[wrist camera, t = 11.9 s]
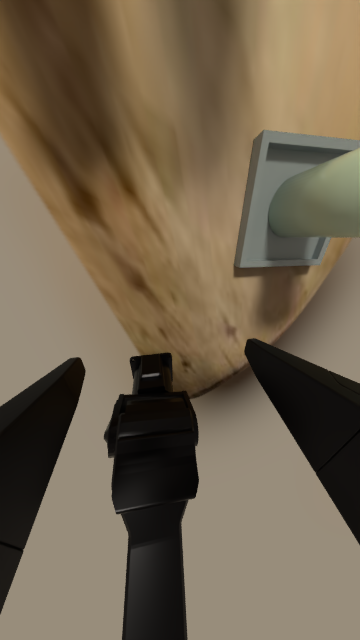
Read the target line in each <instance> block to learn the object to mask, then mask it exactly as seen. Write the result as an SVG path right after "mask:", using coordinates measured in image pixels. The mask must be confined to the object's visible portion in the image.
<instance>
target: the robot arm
mask: <svg viewBox="0 0 360 640" xmlns="http://www.w3.org/2000/svg"><path fill="white" fill-rule="evenodd" d="M244 352H245V355H246V357H247V359H248V361H249V363H250V365H251V367H252V370H253V372H254V374H255V376H256V377H257V379H258V381H259V382H260V384H261V386H262V387H263V389H264V391H265V392H266V394H267V395H268V397H269V399H270V400H271V402H272V403H273V405H274V407H275V408H276V410H277V411H278V413H279V415H280V416H281V418H282V420H283V421H284V423H285V424H286V426H287V428H288V429H289V431H290V433H291V434H292V436H293V437H294V439H295V440H296V442H297V444H298V446H299V447H300V449H301V450H302V452H303V454H304V455H305V457H306V458H307V460H308V462H309V463H310V465H311V467H312V468H313V470H314V471H315V472H316V475H317V476H318V478H319V480H320V481H321V483H322V485H323V486H324V488H325V489H326V491H327V493H328V494H329V496H330V498H331V499H332V501H333V502H334V504H335V505H336V507H337V509H338V510H339V512H340V514H341V515H342V517H343V519H344V520H345V522H346V523H347V525H348V527H349V528H350V530H351V531H352V533H353V535H354V536H355V538H356V540H357V541H358V543H359V544H360V383H357V382H355V381H352V380H350V379H348V378H345V377H343V376H340V375H338V374H336V373H334V372H331V371H328V370H327V369H324V368H322V367H320V366H317V365H315V364H313V363H310V362H308V361H306V360H304V359H301V358H299V357H297V356H294V355H292V354H290V353H287V352H285V351H283V350H280V349H278V348H276V347H273V346H271V345H269V344H267V343H264V342H262V341H260V340H258V339H255V338H253V339H248V340H247V342H246V346H245V350H244ZM130 365H131V370H132V375H133V379H134V382H133V391H132V395H124V394H120V395H119V399H118V400H117V401H116V404H115V405H114V410H113V414H112V418H111V420H110V422H109V425H108V426H107V429H106V431H105V434H104V440H105V441H106V442H107V447H108V457H109V458H112V457H114V465H113V475H112V501H113V505H114V508H115V512H116V514H121V515H122V518H123V521H124V524H125V526H126V529H127V531H128V535H129V538H128V554H127V570H126V586H125V601H124V618H123V634H122V640H187V623H186V605H185V586H184V568H183V549H182V529H181V522H182V518H183V515H184V512H185V509H186V506H187V503H188V500H189V499H194V498H195V497H196V493H197V488H198V483H199V477H198V470H197V463H196V454H195V446H197V444H198V423H197V418H196V414H195V411H194V409H193V406H192V404H191V402H190V399H189V397H188V395H187V392H186V391H182V392H173V388H172V380H173V379H172V355H171V353H161V354H152V355H143V356H134V357H131V358H130ZM84 377H85V368H84V365H83V362H82V360H81V358H79V357H76V358H70V359H68V360H67V361H65V362H64V363H63V364H62V365H60V366H58V367H57V368H55V369H54V370H52V371H51V372H50V373H48V374H47V375H46V376H44V377H43V378H41V379H40V380H38V381H37V382H35V383H34V384H32V385H31V386H29V387H28V388H27V389H25V390H24V391H22V392H21V393H19V394H18V395H17V396H15V397H14V398H12V399H11V400H9V401H8V402H6V403H5V404H3V405H2V406H0V614H1V611H2V608H3V605H4V602H5V600H6V597H7V594H8V592H9V589H10V586H11V584H12V581H13V578H14V576H15V573H16V570H17V567H18V565H19V562H20V559H21V557H22V554H23V549H24V548H25V545H26V543H27V540H28V537H29V534H30V532H31V529H32V526H33V524H34V521H35V518H36V516H37V513H38V510H39V507H40V505H41V502H42V499H43V496H44V494H45V491H46V488H47V486H48V483H49V480H50V477H51V475H52V472H53V469H54V467H55V464H56V461H57V459H58V456H59V453H60V451H61V448H62V445H63V443H64V440H65V437H66V434H67V431H68V429H69V426H70V423H71V421H72V418H73V415H74V413H75V410H76V407H77V404H78V401H79V397H80V393H81V389H82V385H83V381H84Z"/></svg>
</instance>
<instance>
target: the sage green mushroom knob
mask: <svg viewBox="0 0 360 640" xmlns="http://www.w3.org/2000/svg"><path fill="white" fill-rule="evenodd" d="M269 224H270V227H271V229H272V231H273V232H274V234H276V235H277V236H279V237H284V238H289V237H360V148H358V149H356V150H353V151H351V152H348V153H346V154H344V155H341V156H339V157H337V158H334V159H332V160H329V161H327V162H325V163H322V164H320V165H318V166H315V167H313V168H310V169H308V170H306V171H303V172H301V173H299V174H296V175H294V176H292V177H290V178H288V179H287V180H286V181H285V182H284V183H282V185H281V186H280V187H279V188H278V190H277V191H276V193H275V195H274V197H273V199H272V202H271V205H270V209H269Z"/></svg>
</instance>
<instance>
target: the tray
mask: <svg viewBox="0 0 360 640" xmlns="http://www.w3.org/2000/svg"><path fill="white" fill-rule="evenodd" d="M358 148H360V140H351V139H342V138H333V137H323V136H314V135H305V134H296V133H287V132H278V131H269V130H263V131H262V132H261V133H260V134H259V135H258V136H257V137H256V138H255V139H254V142H253V148H252V154H251V161H250V167H249V173H248V180H247V186H246V192H245V199H244V205H243V211H242V218H241V224H240V230H239V237H238V243H237V249H236V256H235V262H234V266H236V267H239V268H244V267H274V266H305V265H320V264H321V261H322V259H323V256H324V254H325V251H326V249H327V247H328V244H329V242H330V239H331V237H289V238H284V237H279V236H277V235H276V234H274V232H273V231H272V229H271V227H270V224H269V209H270V205H271V202H272V199H273V197H274V195H275V193H276V191H277V190H278V188H279V187H280V186H281V185H282V183H284V182H285V181H286V180H287V179H288V178H290V177H292V176H294V175H296V174H299V173H301V172H303V171H306V170H308V169H310V168H313V167H315V166H318V165H320V164H322V163H325V162H327V161H329V160H332V159H334V158H337V157H339V156H341V155H344V154H346V153H348V152H351V151H353V150H356V149H358Z"/></svg>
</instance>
